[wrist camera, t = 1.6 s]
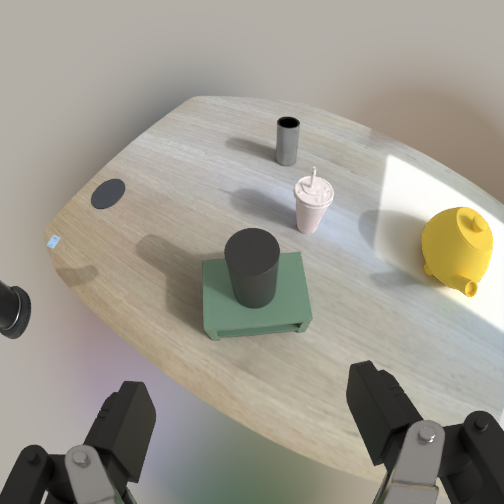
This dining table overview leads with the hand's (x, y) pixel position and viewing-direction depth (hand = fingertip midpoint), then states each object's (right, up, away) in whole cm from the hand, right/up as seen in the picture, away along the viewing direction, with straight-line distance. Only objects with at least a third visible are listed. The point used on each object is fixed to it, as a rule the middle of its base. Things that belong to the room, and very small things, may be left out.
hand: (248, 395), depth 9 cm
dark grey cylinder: (0, +1, +27) cm, 27 cm away
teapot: (+37, +2, +35) cm, 51 cm away
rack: (+1, -3, +33) cm, 33 cm away
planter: (+8, +26, +50) cm, 57 cm away
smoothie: (+10, +10, +41) cm, 43 cm away
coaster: (-33, +19, +47) cm, 61 cm away
